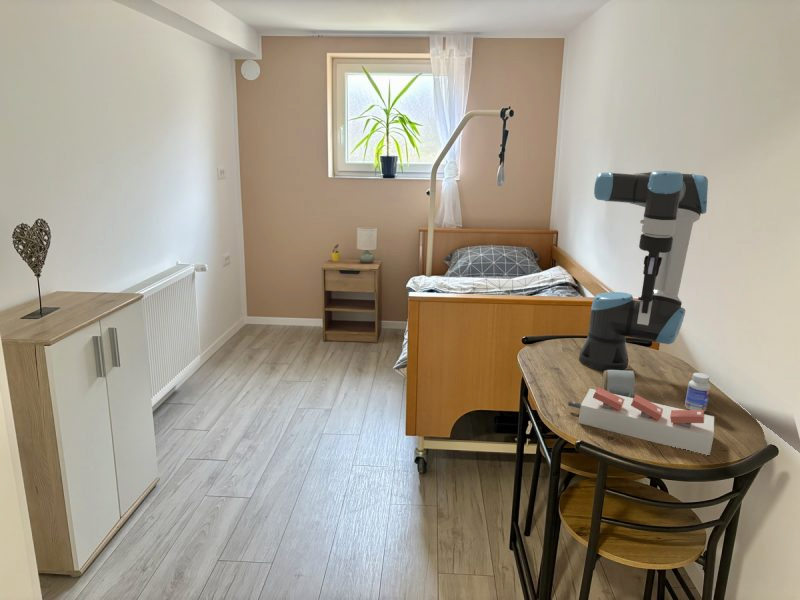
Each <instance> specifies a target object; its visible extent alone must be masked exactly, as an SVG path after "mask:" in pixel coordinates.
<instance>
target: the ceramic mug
mask: <svg viewBox="0 0 800 600" xmlns="http://www.w3.org/2000/svg"><path fill="white" fill-rule="evenodd" d="M601 385H602V386H601V388H602V389H604V390H606V391H608V392H610V393H612V394H617V395H621V396H625V397H630V398H634V396H635V395H634V394H635V389H636V388H635V387H636V377H635V372H634V370H605V371H604V370H603V373H602V382H601Z"/></svg>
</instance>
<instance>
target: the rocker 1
mask: <svg viewBox="0 0 800 600" xmlns="http://www.w3.org/2000/svg"><path fill="white" fill-rule="evenodd" d="M595 390H596V391H595V394H594V396H593V398H595V399H597V400H599V401H601V402H603V403H605V404H607V405H609V406H611V407H613V408H615V409H617V410H619V411H620V409H621V407H622V405H623V403H624V400H625V399H623V398H621V397H619V396H617V395H614V394H612V393H610V392H608V391H606V390H604V389H602V387H600V386H597V388H596V389H595Z"/></svg>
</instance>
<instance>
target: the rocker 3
mask: <svg viewBox="0 0 800 600" xmlns="http://www.w3.org/2000/svg"><path fill="white" fill-rule="evenodd" d="M704 414H705V411H704V410H689V409H683V410H671V415H670V419H671V423H704Z"/></svg>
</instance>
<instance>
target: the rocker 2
mask: <svg viewBox="0 0 800 600" xmlns="http://www.w3.org/2000/svg"><path fill="white" fill-rule="evenodd" d="M653 403H654V402H652V403H651V401H649V400H647V399H645V398H643V397H642V396H640V395H638V394H635V395H634V396H633V400H632V403H631V406H633V407H634V408H636V409H638V410H640V411H642V412H644V413H645V414H647V415H649V416H651V417H653V418H655V419H656V420H659V419H660V417H661V416H662V412H663V409H662V408H660V407H658V406H657V405H655V404H653Z"/></svg>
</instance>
